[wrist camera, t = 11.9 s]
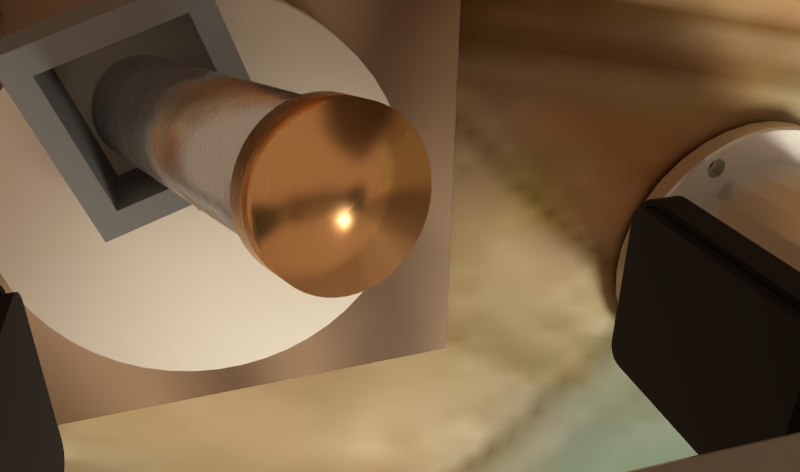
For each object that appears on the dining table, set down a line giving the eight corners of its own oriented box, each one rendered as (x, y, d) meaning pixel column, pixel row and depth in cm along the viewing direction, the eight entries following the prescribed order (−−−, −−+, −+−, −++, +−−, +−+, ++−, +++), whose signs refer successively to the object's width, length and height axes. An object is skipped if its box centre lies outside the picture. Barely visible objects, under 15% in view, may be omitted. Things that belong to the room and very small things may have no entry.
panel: (451, -121, 24) (468, -119, 23) (435, 332, 32) (447, 350, 31) (-200, -116, 19) (-222, -113, 18) (-16, 418, 27) (-22, 444, 26)
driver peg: (210, 56, 21) (446, 108, 13) (199, 171, 22) (415, 292, 14) (86, 38, 19) (269, 87, 11) (79, 165, 20) (244, 303, 12)
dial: (433, 253, 29) (474, 309, 25) (119, 399, 27) (117, 480, 24) (311, -96, 21) (346, -84, 18) (-123, 77, 20) (-175, 125, 17)
